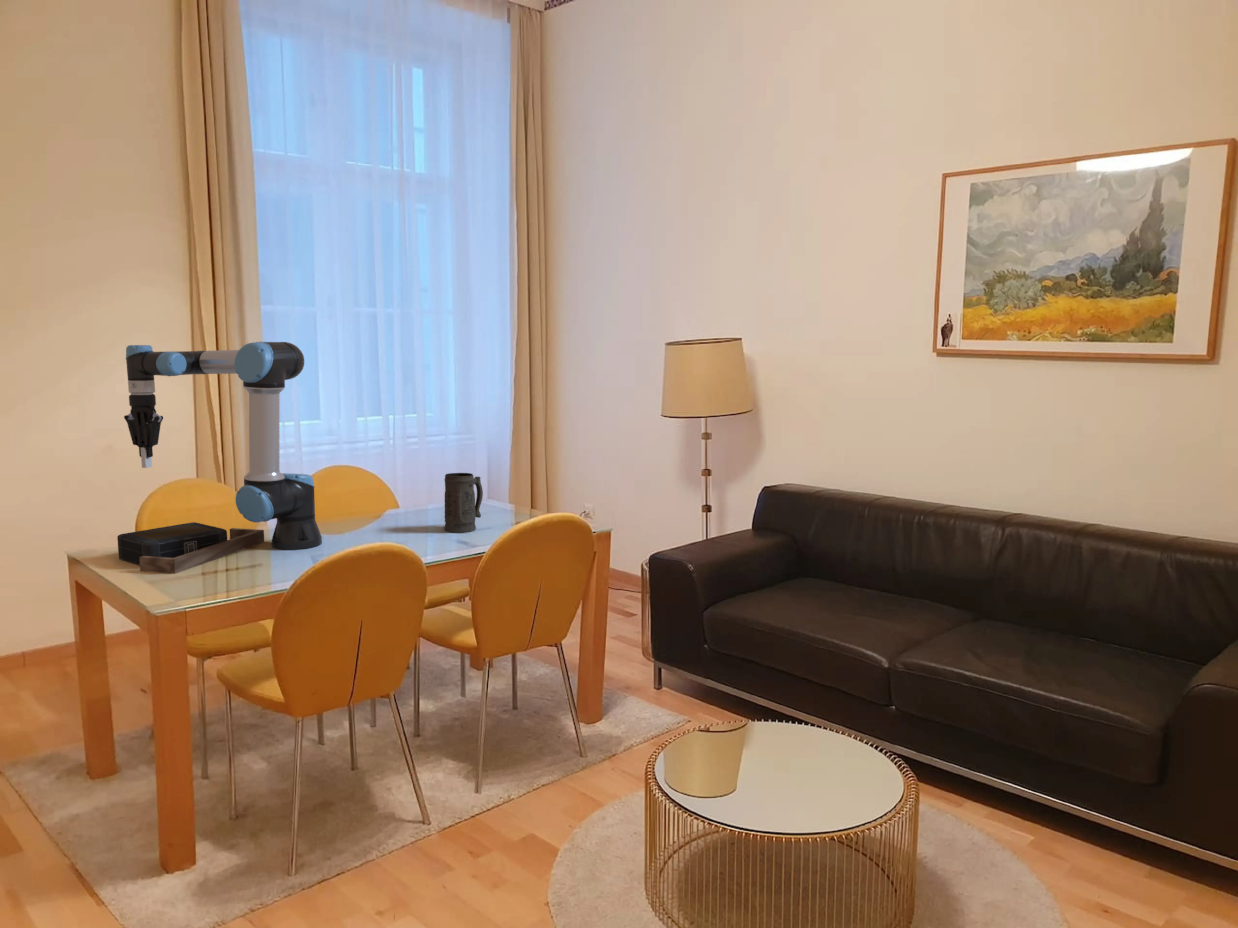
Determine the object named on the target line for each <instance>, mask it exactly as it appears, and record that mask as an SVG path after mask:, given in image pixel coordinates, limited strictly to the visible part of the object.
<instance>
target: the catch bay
mask: <svg viewBox="0 0 1238 928" xmlns="http://www.w3.org/2000/svg"><path fill="white" fill-rule="evenodd" d="M262 543H263V544H264V543H265V529H255V528H254V529H252V528H238V527H237V528H236V527H232V528H229V539H227V541H224V542H221V543H218V544H214V545H211V546H208V547H205V548H202V549H199V550H196V551H193V552H190V553H187V554H184V555H181V556H178V557H175V558H167V557H153V556H141V557H139V558H140V565H139V569H140V571H141V572H152V573H165V574H166V573H167V574H177V573H182V572H184V571H186V570H190V569H191V568H195V567H198V566H200V565H205V563H209V562H212V561H215V560H217V559H220V558H223V557H225V556H228V555H232V554H235V553H237V552H240V551H243V550H247V549H248V548H252V547H254V546H257V545H260V544H262Z"/></svg>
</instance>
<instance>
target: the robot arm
mask: <svg viewBox="0 0 1238 928" xmlns="http://www.w3.org/2000/svg"><path fill="white" fill-rule="evenodd" d="M125 363H126V373H127V385H128V393H130V394H129V395H128V403H129V404H128V405H129V407H130V410H129V411H130V413H128V414H126V415H124V416H123V419H124V420H125V422H126V423H127V428H128V431H129V434H130V438H131V441H132V444H133V446H137V447H138V454H139V458H140V460H141V469H143V468H144V469H148V468H152V467H153V461H152V458H153V456H154V454H153V447H155V446H157V445H159V437H160V431H161V425H162V422H163V419H164V416H163V415H159V414H158V413H157V410H156V408H155V407H156V406H157V402H156V401H157V399H156V395H155V393H156V385H155V384H156V383H155V376H160V377H161V376H163V377H164V376H165V377H177V376H178V377H179V376H185V375H186V376H187V375H217V374H218V375H219V374H220V375H222V374H223V375H230V374H231V375H232V374H233V375H234V374H235V375H237V376H238V378H239V379H240V380H241V381H242V382H243V386H242V387H243V388H244V390H245V391H247V393H248V447H249V448H248V455H249V457H248V458H249V460H248V464H249V465H248V469H249V470H248V472H247V473H246V474H245V475H244V477H243V486H241V487H240V488H239V489H238V491H237V492H236V493H235V494H236V495H235V505H236V508H237V510H238V512H239V514H240V515H242V517H243V518H244V519H246V520H247V521H249V522H251V523H262V522H264V523H266V522H269V521H271V520H275V519H276V524H275V528H274V530H273V535H272V538H271V546H272V548H274V549H278V550H303V549H311V548H314V547H317V546H320V545H322V543H323V540H322V537H323V536H322V534H321V531H320V528H319V526H318V524H317V521H316V509H315V508H316V507H315V506H316V505H315V503H316V502H315V485H314V484H315V483H314V478H313V476H312V474H311V475H310V474H307V473H306V474H305V473H288V472H287V473H282V472H281V471H280V394H281V392H282V391H284V390H285V388H286V387H285V386H286V384H285V383H286V381H287V380H292V379H295V378H296V377H297V376H299V375H300V374H301V373H302V371H303V369H304V367H305V356H304V353H303V351H302V350H301V349H300V348H299V347H298V346H297V345H295V344H293V343H291V342H288V341H287V342H286V341H254V342H253V341H252V342H249V343H246V344H243V345H242V347H241V348H240V349H225V350H223V349H221V350H220V349H219V350H191V351H189V350H188V351H187V350H186V351H178V350H177V351H173V350H171V351H170V350H169V351H153V346H152V345H149V344H148V345H147V344H134V345H133V344H131V345H130V344H129V345H127V346H126V348H125Z"/></svg>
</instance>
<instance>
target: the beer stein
mask: <svg viewBox="0 0 1238 928" xmlns="http://www.w3.org/2000/svg"><path fill="white" fill-rule="evenodd" d="M482 485H483V484H482V483H481V477H480V476H475V477H474V474H473V473H470V472H453V473H452V472H451V473H449V472H448V473H446V474H445V475H444V523H445V524H444V531H445V532H448V533H454V534H461V533H465V534H466V533H471V532H474V531H475V530H477V527H476V518H478V519H479V518H481V516H482V515H481V512H480V507H481V504H482V501H483V496H484V494H483V493H484V492H483V491H484V490H483V486H482ZM474 486H475V487H476V493H475V487H474Z"/></svg>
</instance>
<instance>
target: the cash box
mask: <svg viewBox="0 0 1238 928" xmlns="http://www.w3.org/2000/svg"><path fill="white" fill-rule="evenodd" d="M116 538H117V550H118V553H117V554H118V558H119V559H118V560H121V561H125V562H126V563H127V562H128V563H131V564H134V565H138V566H140V558H139V557H141V556H153V557H167V558H175V557H178V556H181V555H184V554H187V553H190V552H193V551H196V550H199V549H202V548H205V547H208V546H211V545H214V544H218V543H221V542H224V541H227V540H228V532H227V529H225V528H221V527H217V526H213V525H208V524H203V523H200V522H196V521H194V522H187V523H179V524H175V525H174V524H173V525H168V526H161V527H156V528H151V529H143V530H139V531H138V530H137V531H130V532H124V533H121V534H118V535H117V537H116Z"/></svg>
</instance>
